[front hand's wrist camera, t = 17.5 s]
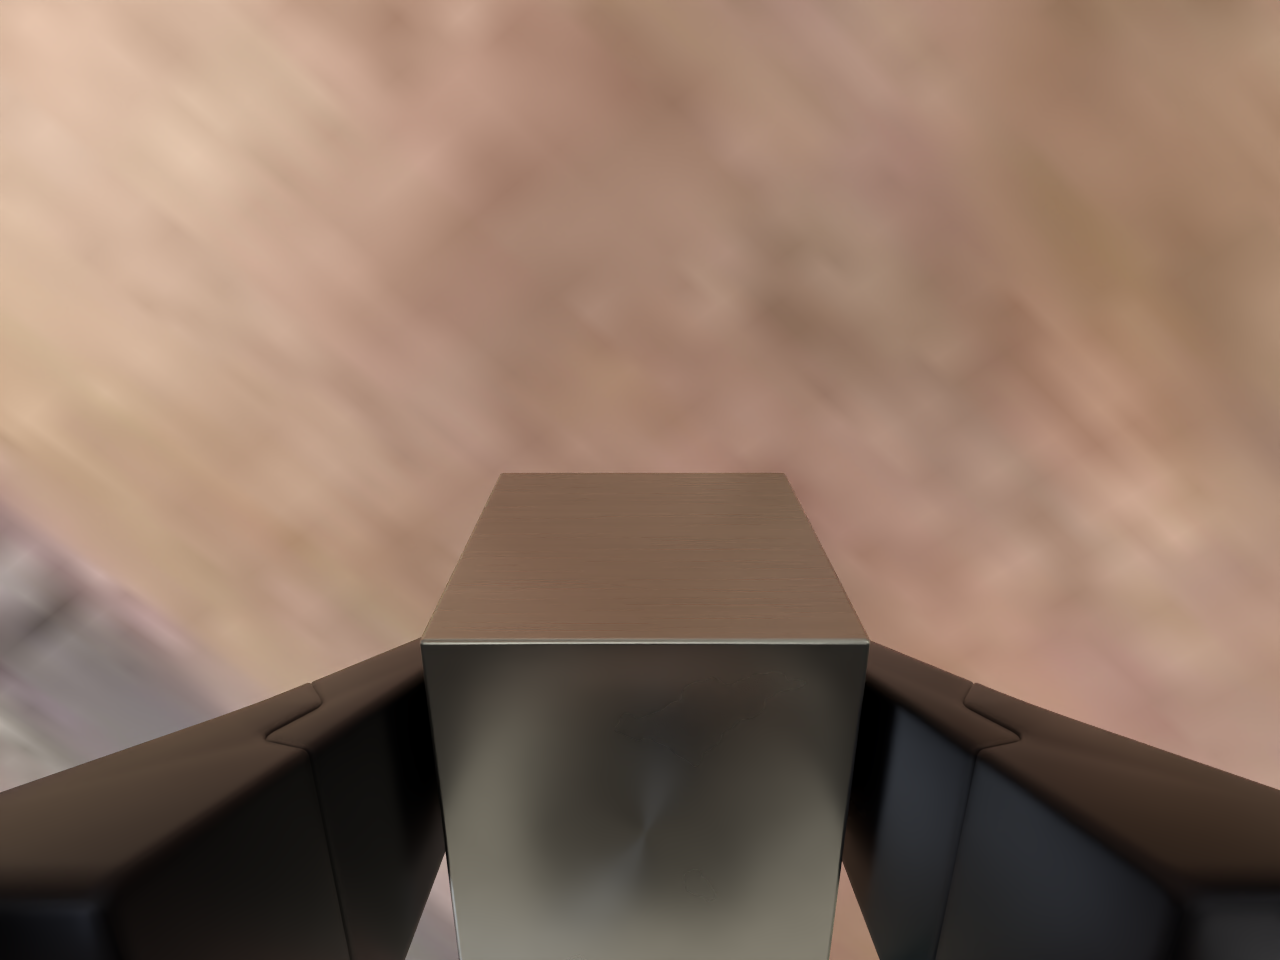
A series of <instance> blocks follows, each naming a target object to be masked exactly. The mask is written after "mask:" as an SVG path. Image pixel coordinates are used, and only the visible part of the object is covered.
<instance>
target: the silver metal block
mask: <svg viewBox="0 0 1280 960" xmlns="http://www.w3.org/2000/svg"><path fill="white" fill-rule="evenodd" d="M869 648H870V640H869V637H868V635H867V634H866V632H865V630H864V628H863V626H862V624H861V622H860V620H859V618H858V616H857V614H856V612H855V610H854V608H853V606H852V604H851V602H850V600H849V598H848V596H847V594H846V592H845V590H844V589H843V587H842V585H841V583H840V581H839V579H838V577H837V575H836V573H835V571H834V569H833V567H832V565H831V563H830V561H829V559H828V557H827V555H826V553H825V551H824V549H823V547H822V546H821V544H820V542H819V540H818V538H817V536H816V534H815V532H814V530H813V528H812V526H811V524H810V522H809V520H808V518H807V516H806V514H805V512H804V510H803V508H802V506H801V504H800V502H799V501H798V499H797V497H796V495H795V493H794V491H793V489H792V487H791V485H790V483H789V481H788V479H787V477H786V475H785V474H783V473H502V474H500V476H499V478H498V481H497V483H496V485H495V487H494V489H493V491H492V493H491V495H490V497H489V499H488V501H487V503H486V505H485V507H484V509H483V512H482V514H481V516H480V518H479V520H478V522H477V524H476V526H475V528H474V530H473V532H472V534H471V536H470V538H469V540H468V543H467V545H466V547H465V549H464V551H463V553H462V555H461V557H460V559H459V561H458V563H457V565H456V567H455V569H454V571H453V574H452V576H451V578H450V580H449V582H448V584H447V586H446V588H445V590H444V592H443V594H442V596H441V598H440V600H439V602H438V605H437V607H436V609H435V611H434V613H433V615H432V617H431V619H430V621H429V623H428V625H427V627H426V629H425V631H424V633H423V636H422V638H421V640H420V649H421V657H422V665H423V674H424V682H425V690H426V698H427V706H428V714H429V722H430V730H431V738H432V746H433V754H434V762H435V770H436V778H437V786H438V794H439V803H440V811H441V819H442V827H443V835H444V843H445V851H446V859H447V867H448V875H449V883H450V891H451V899H452V907H453V915H454V924H455V932H456V940H457V948H458V956H459V960H829V956H830V948H831V940H832V933H833V925H834V917H835V910H836V902H837V894H838V887H839V879H840V871H841V864H842V856H843V848H844V840H845V833H846V825H847V817H848V810H849V802H850V794H851V787H852V779H853V771H854V764H855V756H856V748H857V741H858V733H859V725H860V718H861V710H862V702H863V695H864V687H865V679H866V671H867V664H868V656H869Z"/></svg>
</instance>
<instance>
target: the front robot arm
mask: <svg viewBox="0 0 1280 960" xmlns="http://www.w3.org/2000/svg"><path fill="white" fill-rule="evenodd" d="M421 638H422V637H421ZM421 638H418V639H416V640H414V641H411V642H409V643H406V644H404V645H401V646H399V647H397V648H394V649H392V650H389V651H387V652H384V653H382V654H379V655H377V656H375V657H372V658H370V659H367V660H365V661H362V662H360V663H358V664H355V665H353V666H350V667H348V668H345V669H343V670H340V671H338V672H336V673H333V674H331V675H328V676H326V677H323V678H321V679H318V680H316V681H314V682H312V684H310V683H306V684H304V685H301V686H299V687H297V688H294V689H292V690H289V691H287V692H284V693H281V694H279V695H276V696H274V697H271V698H269V699H266V700H264V701H261V702H258V703H256V704H253V705H250V706H247V707H245V708H242V709H239V710H236V711H234V712H231V713H228V714H225V715H223V716H220V717H217V718H214V719H211V720H208V721H205V722H203V723H200V724H197V725H194V726H191V727H188V728H185V729H182V730H179V731H177V732H174V733H171V734H168V735H165V736H162V737H159V738H156V739H153V740H151V741H148V742H145V743H142V744H139V745H136V746H133V747H130V748H127V749H125V750H122V751H119V752H116V753H113V754H110V755H107V756H104V757H102V758H99V759H96V760H93V761H90V762H87V763H84V764H81V765H78V766H76V767H73V768H70V769H67V770H64V771H61V772H58V773H55V774H52V775H50V776H47V777H44V778H41V779H38V780H35V781H32V782H29V783H26V784H24V785H21V786H18V787H15V788H12V789H9V790H6V791H3V792H1V793H0V960H405V958H406V955H407V952H408V950H409V947H410V944H411V942H412V939H413V936H414V934H415V931H416V928H417V926H418V923H419V920H420V918H421V915H422V912H423V910H424V907H425V904H426V902H427V899H428V896H429V894H430V891H431V888H432V886H433V883H434V880H435V878H436V875H437V872H438V870H439V867H440V864H441V862H442V859H443V856H444V854H445V843H444V835H443V827H442V819H441V811H440V803H439V794H438V786H437V778H436V770H435V762H434V754H433V746H432V738H431V730H430V722H429V714H428V706H427V698H426V690H425V682H424V674H423V665H422V657H421V649H420V640H421ZM842 862H843V864H844V867H845V869H846V872H847V875H848V877H849V880H850V883H851V885H852V888H853V891H854V893H855V896H856V898H857V901H858V904H859V906H860V909H861V912H862V914H863V917H864V920H865V922H866V925H867V927H868V930H869V933H870V935H871V938H872V941H873V943H874V946H875V949H876V951H877V954H878V956H879V959H880V960H1280V790H1278V789H1275V788H1272V787H1269V786H1266V785H1263V784H1260V783H1257V782H1254V781H1252V780H1249V779H1246V778H1243V777H1240V776H1237V775H1234V774H1231V773H1228V772H1225V771H1223V770H1220V769H1217V768H1214V767H1211V766H1208V765H1205V764H1202V763H1199V762H1196V761H1193V760H1191V759H1188V758H1185V757H1182V756H1179V755H1176V754H1173V753H1170V752H1167V751H1164V750H1161V749H1159V748H1156V747H1153V746H1150V745H1147V744H1144V743H1141V742H1138V741H1135V740H1132V739H1130V738H1127V737H1124V736H1121V735H1118V734H1115V733H1112V732H1109V731H1106V730H1103V729H1100V728H1098V727H1095V726H1092V725H1089V724H1086V723H1083V722H1080V721H1077V720H1074V719H1071V718H1068V717H1066V716H1063V715H1060V714H1057V713H1054V712H1052V711H1049V710H1046V709H1043V708H1041V707H1038V706H1035V705H1032V704H1029V703H1027V702H1024V701H1022V700H1019V699H1016V698H1014V697H1011V696H1009V695H1006V694H1003V693H1001V692H998V691H996V690H993V689H991V688H988V687H986V686H983V685H981V684H978V683H974V684H973V683H972V682H971V681H969V680H966V679H964V678H961V677H959V676H956V675H954V674H951V673H949V672H946V671H944V670H941V669H939V668H937V667H934V666H932V665H929V664H927V663H924V662H922V661H919V660H917V659H914V658H912V657H910V656H907V655H905V654H902V653H900V652H897V651H895V650H892V649H890V648H887V647H885V646H882V645H880V644H878V643H875V642H873V641H870V648H869V656H868V664H867V671H866V679H865V687H864V695H863V702H862V710H861V718H860V725H859V733H858V741H857V748H856V756H855V764H854V771H853V779H852V787H851V794H850V802H849V810H848V817H847V825H846V833H845V840H844V848H843V856H842Z"/></svg>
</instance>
